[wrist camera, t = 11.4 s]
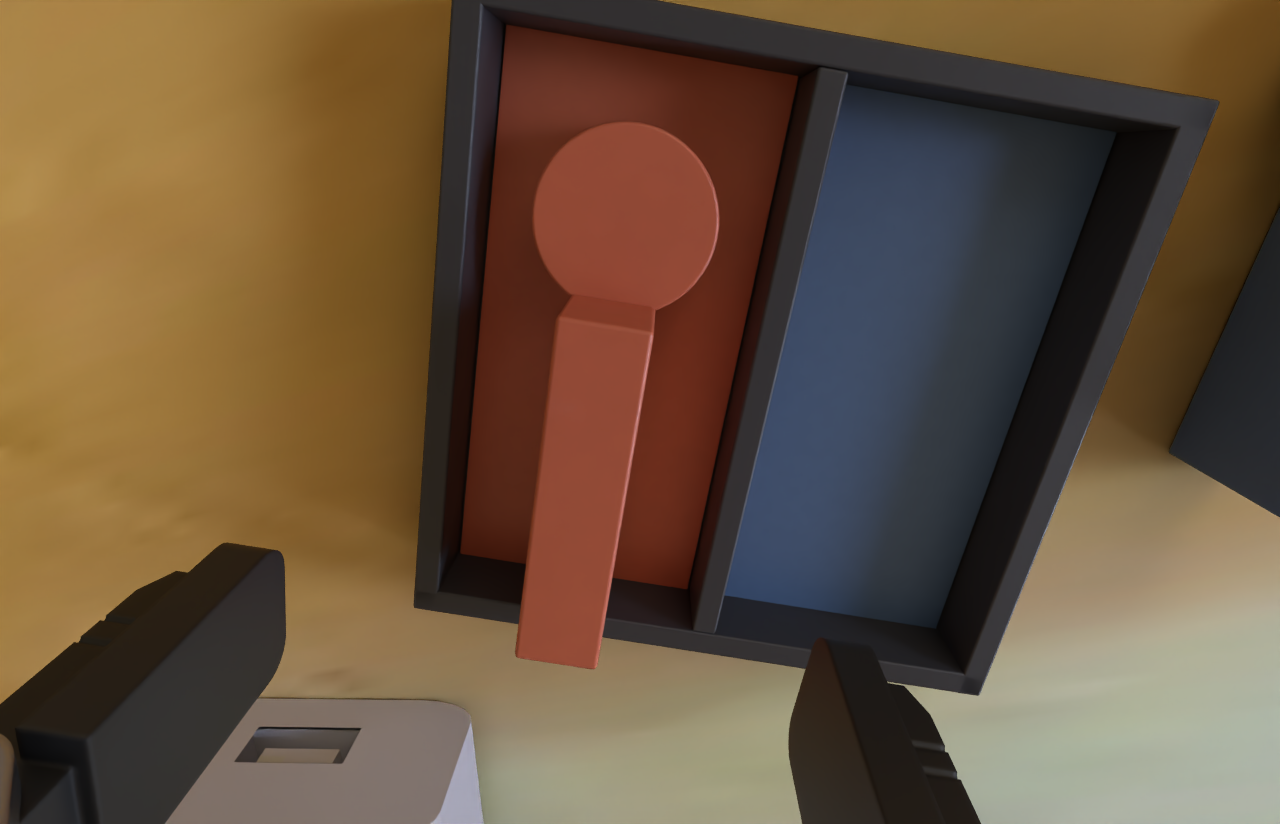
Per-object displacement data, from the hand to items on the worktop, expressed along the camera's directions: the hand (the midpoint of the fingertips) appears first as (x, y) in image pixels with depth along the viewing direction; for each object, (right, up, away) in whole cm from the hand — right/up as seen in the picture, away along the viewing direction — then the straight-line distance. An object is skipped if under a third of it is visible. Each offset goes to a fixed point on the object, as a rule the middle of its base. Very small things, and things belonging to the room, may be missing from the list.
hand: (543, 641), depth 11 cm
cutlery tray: (+4, +5, +7) cm, 9 cm away
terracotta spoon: (+1, +5, +7) cm, 8 cm away
